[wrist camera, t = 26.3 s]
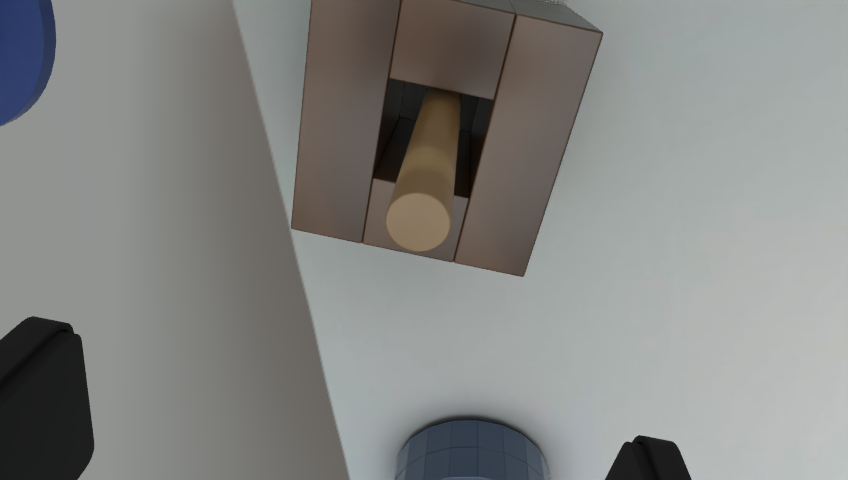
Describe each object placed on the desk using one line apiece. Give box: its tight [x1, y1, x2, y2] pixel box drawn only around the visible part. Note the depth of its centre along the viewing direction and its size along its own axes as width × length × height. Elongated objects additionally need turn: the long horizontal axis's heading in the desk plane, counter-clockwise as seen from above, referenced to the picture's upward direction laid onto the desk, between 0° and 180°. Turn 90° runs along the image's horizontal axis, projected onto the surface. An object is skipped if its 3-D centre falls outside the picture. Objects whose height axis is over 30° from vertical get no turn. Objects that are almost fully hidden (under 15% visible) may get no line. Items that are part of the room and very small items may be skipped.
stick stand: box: [291, 0, 603, 277], centre depth 29 cm, size 12×12×10 cm
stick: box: [385, 87, 462, 252], centre depth 24 cm, size 2×2×20 cm
